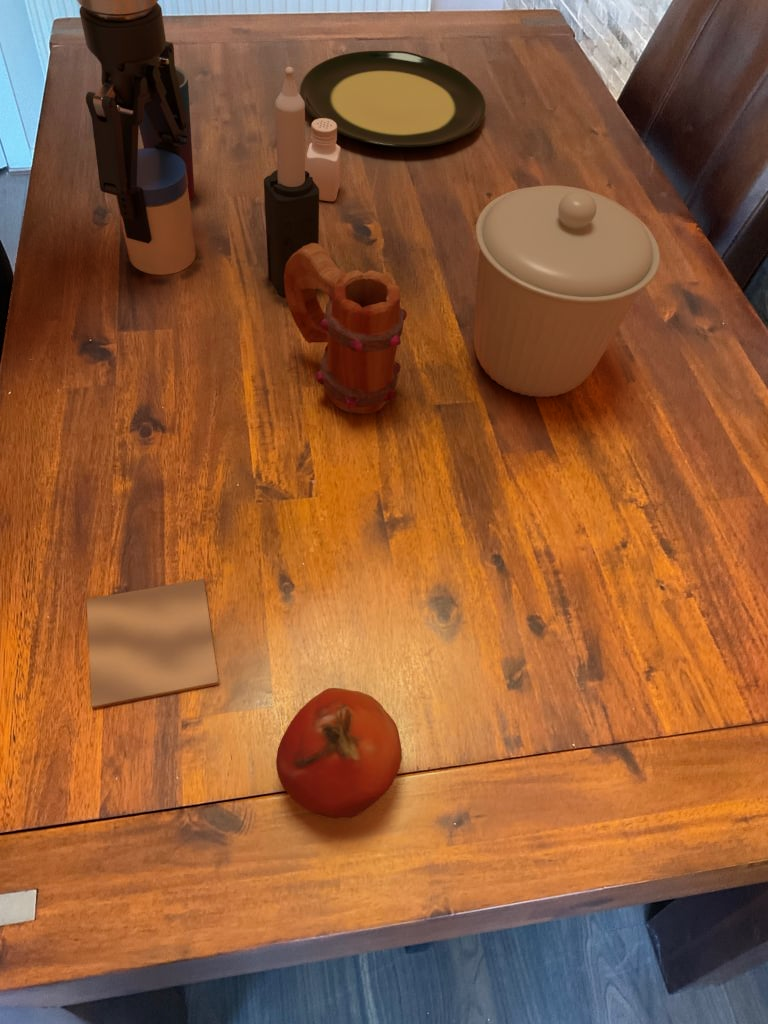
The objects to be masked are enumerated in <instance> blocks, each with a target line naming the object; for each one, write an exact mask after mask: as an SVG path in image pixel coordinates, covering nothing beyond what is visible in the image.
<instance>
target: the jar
mask: <svg viewBox="0 0 768 1024" xmlns="http://www.w3.org/2000/svg"><path fill="white" fill-rule="evenodd" d="M115 199H116V203H117V207H118V213H119V219H120V222H121V227H122V232H123V237H124V241H125V246H126V252H127V255H128V260H129V262H130V263H131V265H132V266H133V267H134V268H135V269H137V270H138V271H141V272H143V273H146V274H150V275H156V276H165V275H173V274H177V273H180V272H182V271H183V270H185V269H187V268H189V267H190V266H191V265H192V264H193V263H194V262H195V259H196V256H197V249H196V242H195V241H196V240H195V234H194V225H193V217H192V210H191V201H189V193H188V186H187V189H186V191H185V192H184V193H183V194H182V195H181V196H180V197H179V198H177V199H175V200H173V201H171V202H168V203H164V204H159V205H145V207H146V212H147V217H148V223H149V228H150V233H151V239H152V240H151V241H150V243H149V244H148V243H144V242H141V241H137V240H133V239H129V238H127V236H126V232H125V227H124V222H123V218H122V216H121V214H120V209H119V205H118V200H117V196H116V195H115Z"/></svg>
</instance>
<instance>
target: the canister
mask: <svg viewBox="0 0 768 1024" xmlns="http://www.w3.org/2000/svg"><path fill="white" fill-rule="evenodd" d="M475 239H476V243H477V246H478V248H479V253H478V262H477V263H478V265H477V276H476V277H477V278H476V287H475V288H476V290H475V303H474V321H473V322H474V323H473V324H474V325H473V347H474V350H475V354H476V358H477V360H478V361H479V365H480V366H481V368H482V369H483V370H484V372H485V374H487V375H488V376H489V377H490V379H491V380H493V381H494V382H496V383H497V385H498V386H499V385H500V386H501V387H503V388H504V389H506V390H509V391H511V392H512V393H517V394H519V395H521V396H528V397H536V398H549V397H557V396H559V395H564V394H566V393H568V392H571V391H573V390H575V389H576V388H577V387H579V386H580V385H582V384H583V383H584V382H585V380H587V379H588V378H589V377H590V376H591V374H592V372H594V371H595V368H596V366H597V365H598V364H599V362H600V360H601V358H602V357H603V356H604V354H605V352H606V351H607V349H608V347H609V345H610V344H611V342H612V341H613V339H614V337H615V335H616V334H617V332H618V330H619V329H620V326H621V325H622V323H623V321H624V320H625V318H626V316H627V314H628V312H629V311H630V309H631V307H632V305H633V303H634V302H635V300H636V299H637V296H638V295H639V293H640V292H641V291H643V289H645V288H646V287H647V286H648V285H649V284H650V283H651V282H652V281H653V280H654V279H655V277H656V275H657V273H658V270H659V268H660V263H661V252H660V247H659V244H658V242H657V240H656V238H655V235H654V234H653V233H652V231H651V230H650V228H649V227H648V226H647V225H646V224H645V223H644V222H643V221H642V220H641V219H640V218H639V217H638V216H637V215H635V214H634V213H633V212H631V211H630V210H628V209H627V208H626V207H624V206H623V205H621V204H619V203H618V202H617V201H614V200H612V199H611V198H609V197H606V196H604V195H602V194H599V193H597V192H594V191H591V190H588V189H585V188H579V187H573V186H569V185H568V186H567V185H557V184H556V185H555V184H554V185H552V184H551V185H537V186H530V187H523V188H518V189H515V190H511V191H508V192H505V193H503V194H501V195H499V196H498V197H496V198H494V199H493V200H491V201H490V202H489V203H488V204H486V205H485V207H484V208H483V209H482V210H481V212H480V213H479V215H478V217H477V220H476V224H475Z"/></svg>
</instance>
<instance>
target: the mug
mask: <svg viewBox="0 0 768 1024" xmlns="http://www.w3.org/2000/svg"><path fill="white" fill-rule="evenodd" d="M284 286H285V294H286V297H285V299H286V302H287V305H288V309H289V312H290V314H291V317H292V319H293V321H294V323H295V325H296V327H297V329H298V330H299V333H300V334H301V336H302V337H303V338H304V341H306V342H307V343H309V344H311V343H327V345H326V346H325V348H324V353H323V355H322V358H321V363H320V370H318V371H317V372H316V374H315V381H316V382H317V383H319V384H321V385H323V388H324V392H325V394H326V395H327V397H328V398H329V399H330V401H331V402H332V404H333V405H335V406H336V407H337V408H338V409H340V410H341V411H343V412H345V413H352V414H371V413H374V412H377V411H379V410H381V409H383V408H384V406H385V405H386V404H387V403H388V402H392V401H394V399H395V398H396V393H395V392H394V391H395V389H396V387H397V382H398V378H399V377H398V376H399V373H400V372H401V369H402V366H401V365H400V363H399V362H397V361H395V360H396V353H397V349H398V346H400V344H401V343H402V341H401V340H402V339H401V337H402V335H403V330H404V329H403V328H404V322H405V320H406V318H407V316H408V314H407V313H408V312H407V310H405V309H404V308H402V307H401V306H400V305H401V291H400V288H399V286H398V285H397V284H393V283H392V279H391V278H390V277H389V276H388V275H386V274H385V273H382V272H379V271H376V270H373V269H372V270H371V269H369V270H368V271H366V272H362V271H360V270H359V269H355V270H351V271H348V272H344V271H342V270H341V269H339V267H338V266H336V264H335V263H334V261H333V260H332V258H331V257H330V255H329V253H328V252H327V251H326V250H325V248H324V247H323V246H322V245H320V244H317V243H310V244H308V245H306V246H303V247H302V248H301V249H299V250H298V251H297V252H295V253H294V254H293V255H292V256H291V257H290V259H289V260H288V262H287V264H286V266H285V273H284ZM317 290H321V291H322V292H323V293H324V294H326V295H327V296H328V302H327V303H326V305H325V312H324V310H323V309H322V307H321V303H320V301H319V299H318V297H317Z"/></svg>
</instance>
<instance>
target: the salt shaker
mask: <svg viewBox="0 0 768 1024" xmlns="http://www.w3.org/2000/svg"><path fill="white" fill-rule="evenodd" d="M310 136H311V137H310V138H311V142H310V143H309V145H308V149H307V152H306V171H307V172H308V173H309V176H310V177H312V178H313V181H314V183H315V184H316V185H317V187H318V188H319V201H326V202H334V201H336V199H337V197H338V192H339V188H340V177H341V154H342V153H341V152H342V151H341V149H342V148H341V146H340V145H339V144H337V140H338V132H337V124H336V122H334V121H333V120H331V119H327V118H319V119H314V120H313V121H312V122H311V135H310Z"/></svg>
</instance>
